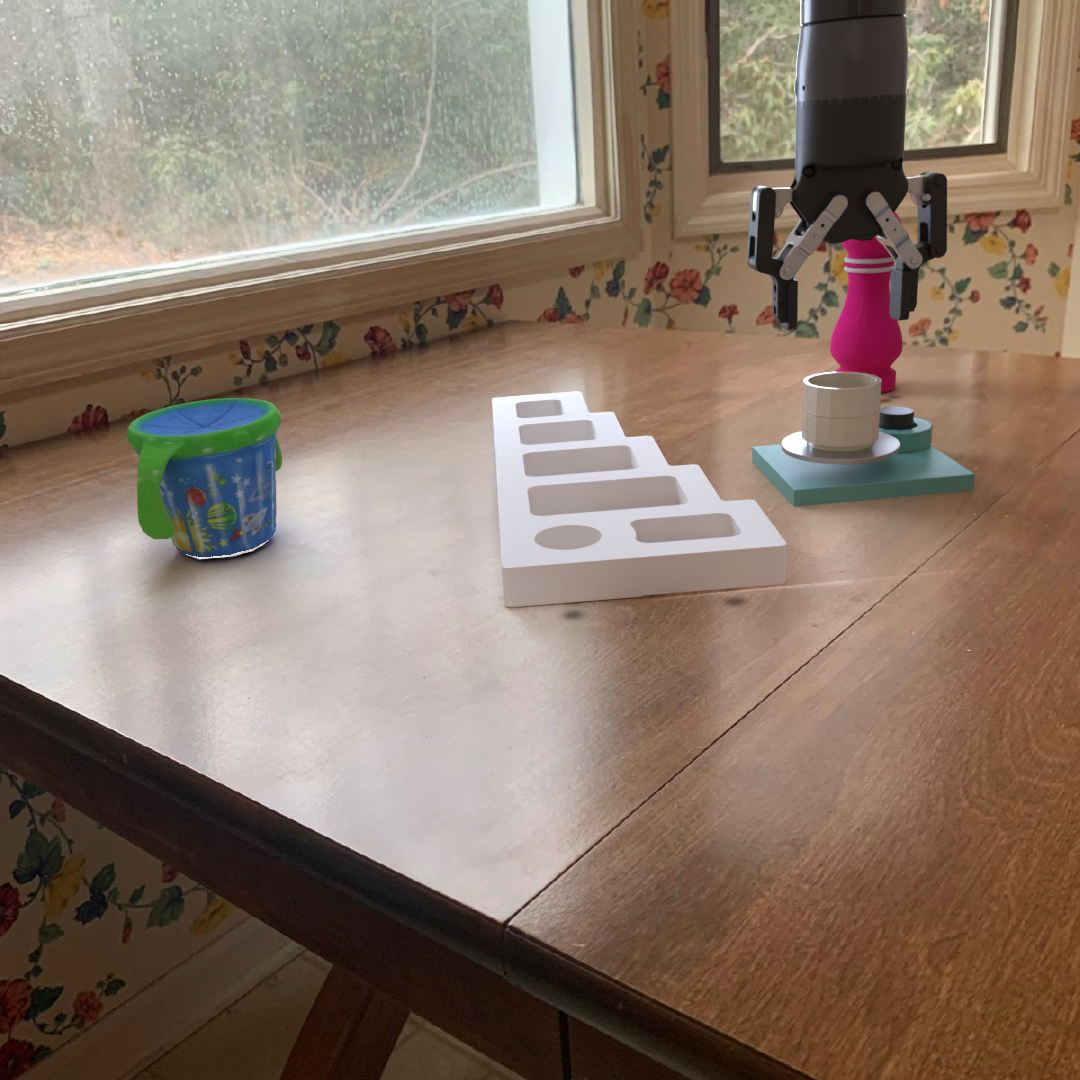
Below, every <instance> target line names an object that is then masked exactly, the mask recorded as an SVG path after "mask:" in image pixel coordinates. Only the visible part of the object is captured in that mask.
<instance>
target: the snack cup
mask: <svg viewBox="0 0 1080 1080" xmlns="http://www.w3.org/2000/svg"><path fill="white" fill-rule="evenodd" d="M281 419H282V417H281V411H280V410H279V409H278V408H277V406H276V405H275V404H273V403H272V402H270V401H267V400H263V399H259V398H258V399H257V398H249V397H225V398H213V399H204V400H197V401H190V402H185V403H178V404H173V405H170V406H167V407H162V408H159V409H156V410H153V411H150V412H148V413H146V414H143V415H141V416H139V417H137V418H136V419H134V420H133V421H132V422H130V424H129V425H128V427H127V428H126V432H125V433H126V439H127V441H128V442H129V444H130V446H131V447H132V449H133V450H134V452H135V453H136V454H137V455H138V465H137V471H136V472H137V474H136V478H137V479H136V480H137V482H136V494H137V495H136V496H137V498H136V503H137V519H138V524H139V526H140V527H141V530H142V532H143V533H144V534H145V535H146V536H147V537H149V538H151V539H153V540H169V539H171V541H172V545H173V547H174V548H175V547H176V548H175V550H176V549H177V550H178V551H177V550H176V551H177V552H179V551H181V552H182V553H184V554H188V555H191V556H196V557H197V556H198V557H211V556H212V557H213V556H222V555H231V554H234V553H237V552H241V551H246V550H249V549H253V548H255V547H257V546H259V545H260V544H262V543H264V542H266V541H267V540H269V539H270V540H271V539H272V538H273V537H274V536H275V535H274V533H275V532H277V478H276V477H277V472H278V471H279V470H280V469H281V468H282V465H283V452H282V450H281V446H280V444H279V440H278V437H277V432H278V431H279V428H280V426H281ZM273 535H274V536H273ZM271 537H272V538H271ZM181 552H180V553H181ZM182 553H181V554H182ZM184 554H183V555H184ZM239 556H241V555H239ZM239 556H235V557H234V558H237V557H239ZM230 558H231V559H232V558H233V557H229V558H228V559H230ZM224 559H225V558H223V559H222V560H224Z"/></svg>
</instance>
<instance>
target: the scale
mask: <svg viewBox="0 0 1080 1080" xmlns="http://www.w3.org/2000/svg"><path fill="white" fill-rule="evenodd" d="M933 429H934V425H933V423H932V422H931V421H929V420H927V419H925V418H921V417H917V416H916V417H915V416H914V426H913V428H912V429H907V430H887V429H882V428H879V432H883V433H886V434H889V435H891V436H893V437H895V438H896V439H898V440H899V442H900V450H899V452H898V453H897V454H896V455H894V456H892V457H890V458H888V459H885V460H881V461H876V462H871V463H863V464H849V465H836V464H821V463H813V462H808V461H803V460H799V459H796V458H793V457H791V456H789V455H787V454H785V453H784V452H783V451H782V448H781V443H779V444H767V445H756V446H752V447H751V462H752V463H753V464H754V465H755V467H757V469H758V470H759V471H760V472H761V473H762V474H763V475H764V476H765V477H766V478H767V479H768V480H769V481H770V483H771V484H772V485H773V486H774V487H775V488H776V490H778V491H779V492H780V493H781V495H783V496H784V498H785V499H786V500H787V501H788V502H789V503H790V504H791V505H792V506H793V507H795V508H796V507H806V506H815V505H827V504H828V505H829V504H837V503H839V504H840V503H851V502H859V501H860V502H861V501H872V500H883V499H894V498H895V499H896V498H904V497H915V496H917V497H918V496H927V495H939V494H949V493H959V492H971V491H974V490H975V479H976V474H975V473H974V472H973V471H971V470H969V469H968V468H966V467H965V466H964V465H962V464H961V463H959V462H958V461H956V460H954V459H952V458H951V457H949V456H948V455H946V454H945V453H944V452H942V451H940V450H939V449H937V448H936V447H935V446H933V445H931V444H932V442H933Z"/></svg>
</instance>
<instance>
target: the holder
mask: <svg viewBox="0 0 1080 1080" xmlns="http://www.w3.org/2000/svg"><path fill="white" fill-rule="evenodd" d="M491 404H492V405H491V406H492V407H491V409H492V422H493V425H492V426H493V441H494V442H493V443H494V459H495V476H496V491H497V492H496V493H497V494H496V495H497V508H498V509H497V511H498V524H499V525H498V527H499V529H498V530H499V543H500V545H499V546H500V561H501V576H502V586H503V587H502V588H503V599H504V606H505V607H506V608H520V607H521V608H522V607H531V606H532V607H533V606H534V607H535V606H545V605H559V604H569V603H582V602H583V603H584V602H593V601H604V600H605V601H606V600H618V599H629V598H641V597H643V598H644V596H653V595H665V594H678V593H679V594H680V593H689V592H690V593H691V592H701V591H702V592H703V591H714V590H716V591H717V590H727V589H738V588H739V589H740V588H751V587H761V586H762V587H763V586H774V585H776V586H777V585H783V584H785V583H786V582H787V541H785V539H784V538H783V536H782V535H781V533H780V532H779V531H778V530H777V528H776V526H774V524H773V523H772V521H771V520H770V519H769V517H768V516H767V514H765V512H764V510H763V509H762V507H761V506H760V505H759V504H758V503H757V501H756V500H755V499H752V498H751V499H750V498H749V499H737V500H735V499H734V500H723V499H721V497H720V495H719V494H718V493H717V491H716V489H715V488H714V487H713V484H711V482H710V480H709V479H708V477H707V476H706V473H704V471H703V469H702V468H701V466H700V465H699V464H694V463H693V464H682V465H670V464H669V463H668V461H667V460H666V458H665V456H664V454H663V452H662V451H661V448H659V446H658V444H657V441H656V440H655V438H654V436H653V435H639V436H626V435H625V433H624V430H623V428H622V427H621V424H620V423H619V420H618V418H617V416H616V414H615V411H599V412H590V411H589V408H588V406H587V403H586V401H585V398H584V396H583V393H582V391H580V390H575V391H563V392H551V393H550V392H549V393H536V394H535V393H534V394H524V395H523V394H522V395H510V396H497V397H492V398H491Z"/></svg>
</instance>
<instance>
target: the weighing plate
mask: <svg viewBox="0 0 1080 1080" xmlns="http://www.w3.org/2000/svg"><path fill="white" fill-rule="evenodd" d="M801 435H802V430H801V431H796V432H794V433H791V434H789V435H786V436H785V437H784V438H783V439H782V441H781V443H780V444H781V448H782V451H783V452H784V453H785V454H787V455H789V456H791V457H793V458H796V459H799V460H803V461H808V462H813V463H821V464H836V465H849V464H863V463H871V462H876V461H881V460H885V459H888V458H890V457H892V456H894V455H896V454H897V453H898V452H899V450H900V442H899V440H898V439H896V438H895V437H893V436H891V435H889V434H886V433H883V432H879V438H878V440H876V441H874V442H873V445H872V446H871V447H869V448H866V449H863V450H858V451H851V452H831V451H823V450H818V449H815V448H812V447H810V446H809V445H808V444H807V441H805V440H804V439H803V438H802V437H801Z"/></svg>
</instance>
